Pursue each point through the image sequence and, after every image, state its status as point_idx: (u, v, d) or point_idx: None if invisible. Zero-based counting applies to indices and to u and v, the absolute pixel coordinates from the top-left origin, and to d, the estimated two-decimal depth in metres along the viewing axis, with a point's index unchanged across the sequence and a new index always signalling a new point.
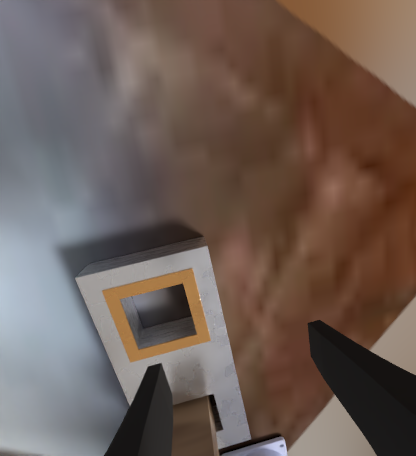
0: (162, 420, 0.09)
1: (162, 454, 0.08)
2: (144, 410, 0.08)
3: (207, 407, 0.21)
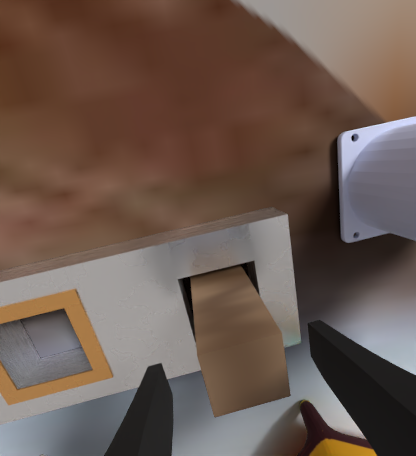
0: (162, 420, 0.09)
1: (162, 454, 0.08)
2: (144, 410, 0.08)
3: (192, 292, 0.14)
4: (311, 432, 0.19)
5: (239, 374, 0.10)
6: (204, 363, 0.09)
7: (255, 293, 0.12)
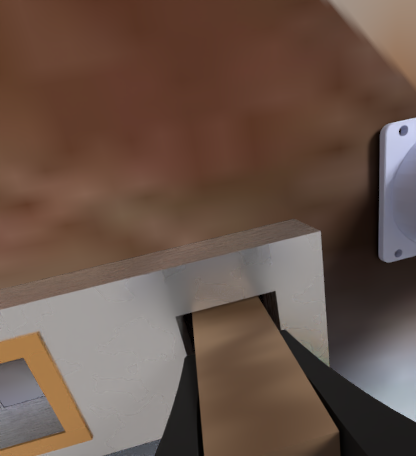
0: None
1: None
2: (193, 396, 0.08)
3: (194, 334, 0.10)
4: None
5: None
6: None
7: (282, 344, 0.09)
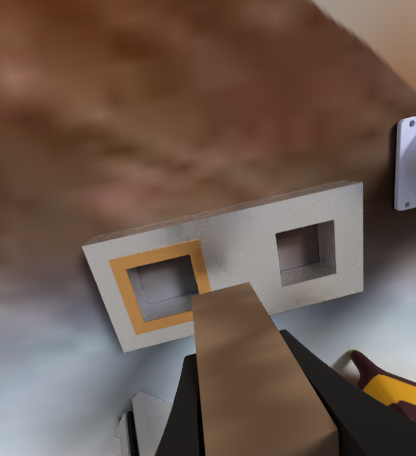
0: None
1: None
2: (192, 396, 0.08)
3: (195, 334, 0.10)
4: (364, 371, 0.23)
5: None
6: None
7: (282, 344, 0.09)
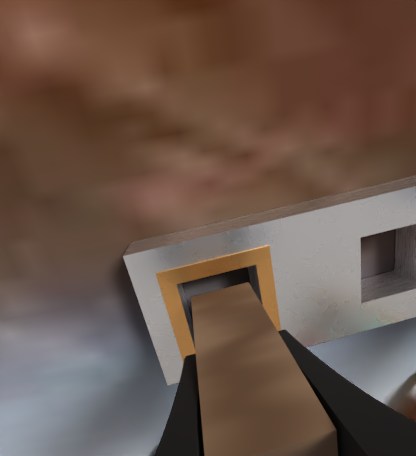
0: None
1: None
2: (192, 396, 0.08)
3: (194, 335, 0.11)
4: None
5: None
6: None
7: (281, 345, 0.09)
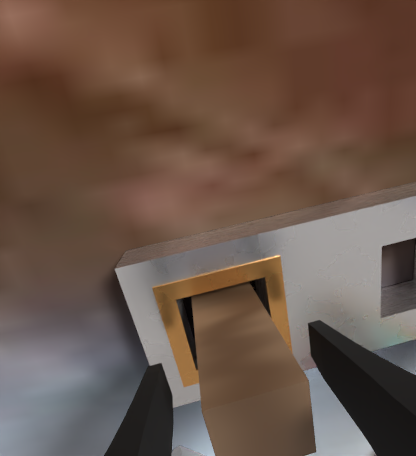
0: (162, 420, 0.09)
1: (162, 454, 0.08)
2: (144, 410, 0.08)
3: None
4: None
5: (254, 430, 0.08)
6: (211, 420, 0.07)
7: (268, 320, 0.10)
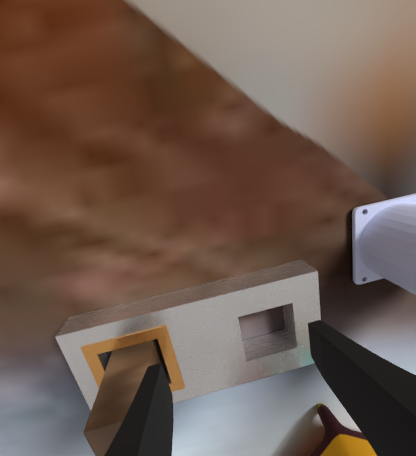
0: (162, 420, 0.09)
1: (162, 454, 0.08)
2: (144, 410, 0.08)
3: (108, 365, 0.18)
4: (328, 429, 0.25)
5: None
6: (89, 437, 0.14)
7: None
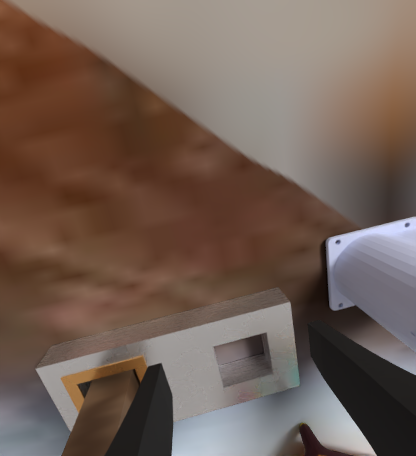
0: (162, 420, 0.09)
1: (162, 454, 0.08)
2: (144, 410, 0.08)
3: (87, 394, 0.19)
4: (308, 450, 0.25)
5: None
6: None
7: (121, 405, 0.17)
